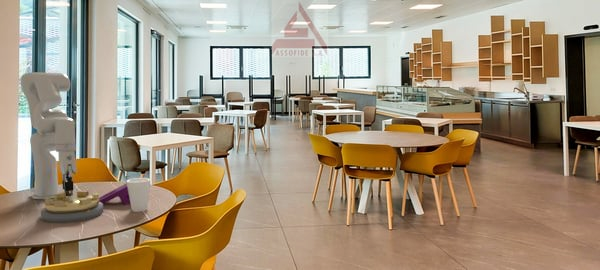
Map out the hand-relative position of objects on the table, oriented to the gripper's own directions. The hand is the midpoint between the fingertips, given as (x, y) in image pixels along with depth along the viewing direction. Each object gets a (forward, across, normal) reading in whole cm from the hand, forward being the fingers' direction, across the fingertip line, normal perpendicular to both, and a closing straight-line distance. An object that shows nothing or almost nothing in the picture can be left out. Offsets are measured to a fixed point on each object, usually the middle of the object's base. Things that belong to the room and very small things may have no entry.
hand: (68, 189), depth 191 cm
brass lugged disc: (+6, -9, 0) cm, 11 cm away
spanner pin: (+3, 0, 0) cm, 3 cm away
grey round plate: (+9, -9, 0) cm, 13 cm away
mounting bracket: (+10, -1, -20) cm, 22 cm away
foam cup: (+9, -19, -23) cm, 32 cm away
